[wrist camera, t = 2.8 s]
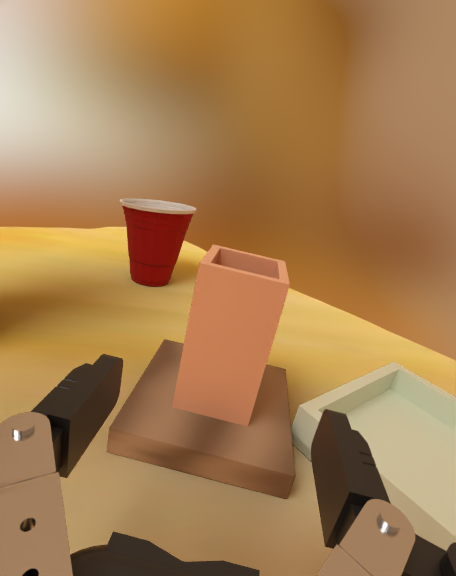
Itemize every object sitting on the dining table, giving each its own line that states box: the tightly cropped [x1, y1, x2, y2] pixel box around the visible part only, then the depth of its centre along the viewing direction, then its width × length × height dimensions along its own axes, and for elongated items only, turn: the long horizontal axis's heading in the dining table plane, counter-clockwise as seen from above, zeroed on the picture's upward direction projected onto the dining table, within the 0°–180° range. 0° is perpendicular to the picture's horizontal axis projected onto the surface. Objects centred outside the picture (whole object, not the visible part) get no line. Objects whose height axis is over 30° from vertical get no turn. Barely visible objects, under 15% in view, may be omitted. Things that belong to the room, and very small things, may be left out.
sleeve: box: [172, 245, 290, 427], centre depth 25 cm, size 6×6×11 cm
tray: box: [291, 362, 456, 550], centre depth 25 cm, size 16×16×3 cm
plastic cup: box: [120, 199, 196, 286], centre depth 49 cm, size 11×11×12 cm
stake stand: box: [107, 339, 295, 499], centre depth 26 cm, size 12×12×8 cm
